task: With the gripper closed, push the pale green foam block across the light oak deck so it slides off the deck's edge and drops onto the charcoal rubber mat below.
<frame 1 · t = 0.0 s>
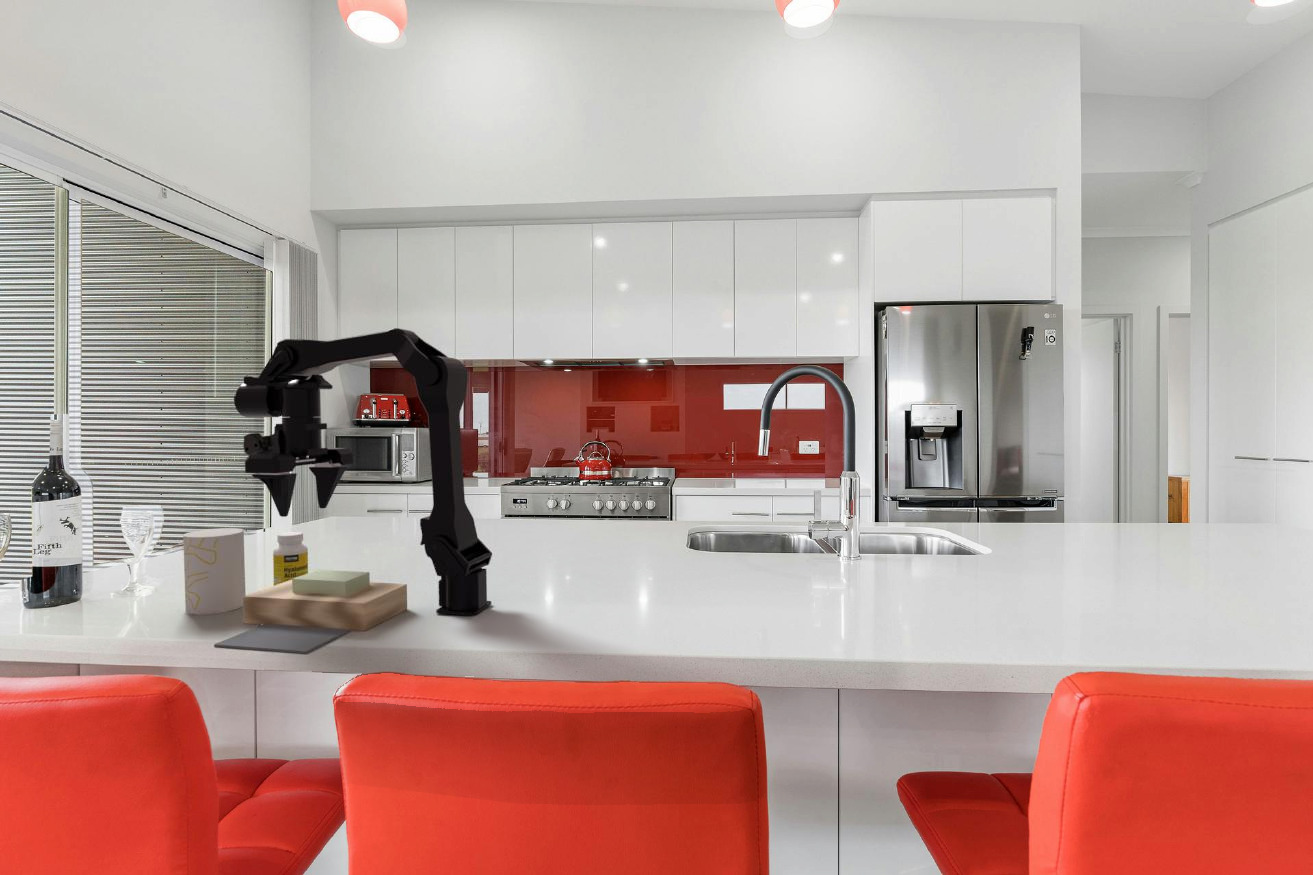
hand: (304, 512, 114), 15 cm above the table, fingers open, 9 cm apart
deck: (328, 615, 106), on the table
pale green foam block: (331, 588, 107), point 4 cm above the table, touching deck
mat: (284, 638, 96), on the table
cup: (216, 607, 111), on the table
supplement bottle: (291, 589, 122), on the table
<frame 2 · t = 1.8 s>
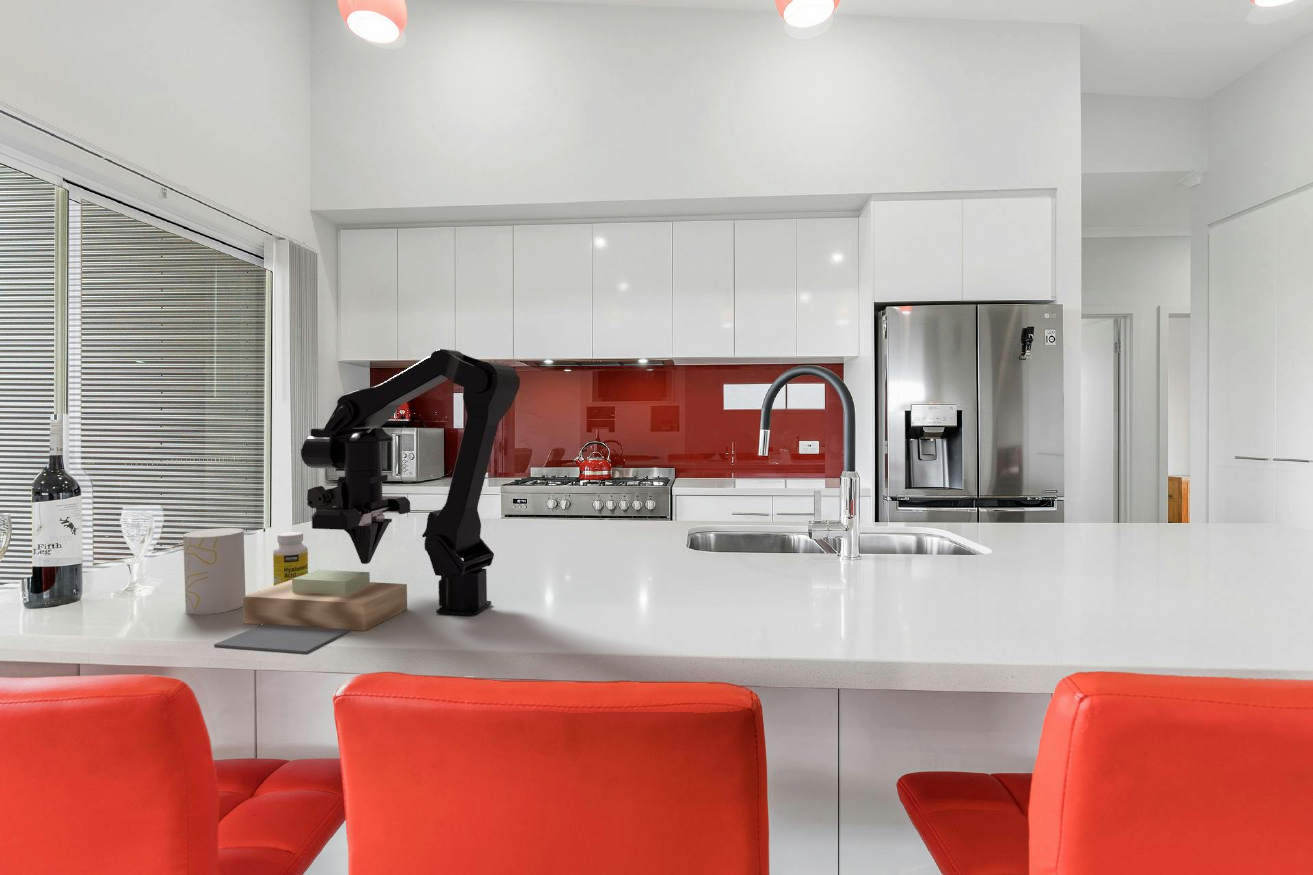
hand: (365, 563, 115), 6 cm above the table, fingers closed
nothing on the table moved.
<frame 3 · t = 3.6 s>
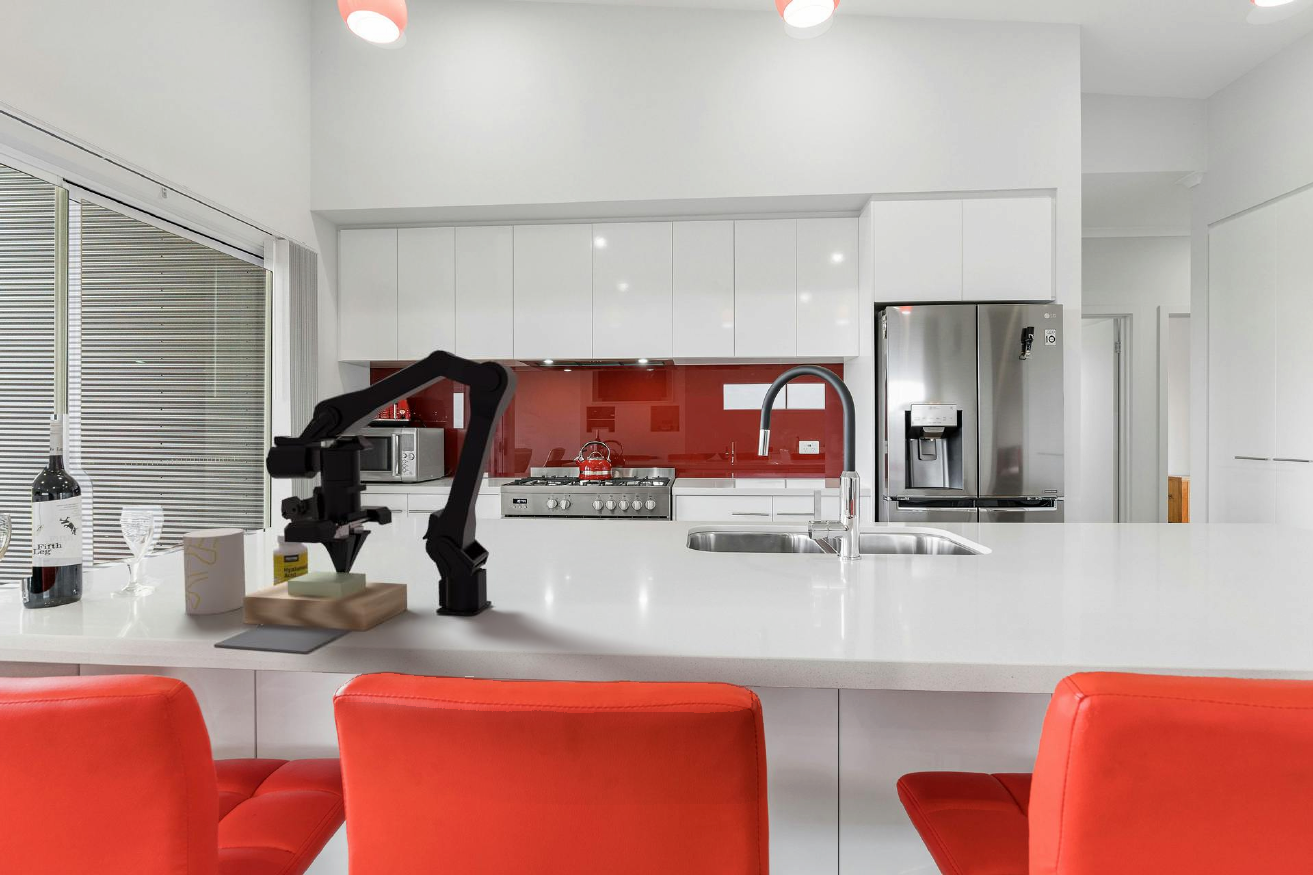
hand: (343, 577, 110), 5 cm above the table, fingers closed
pale green foam block: (327, 589, 106), point 4 cm above the table, touching deck, gripper
everything else where it was.
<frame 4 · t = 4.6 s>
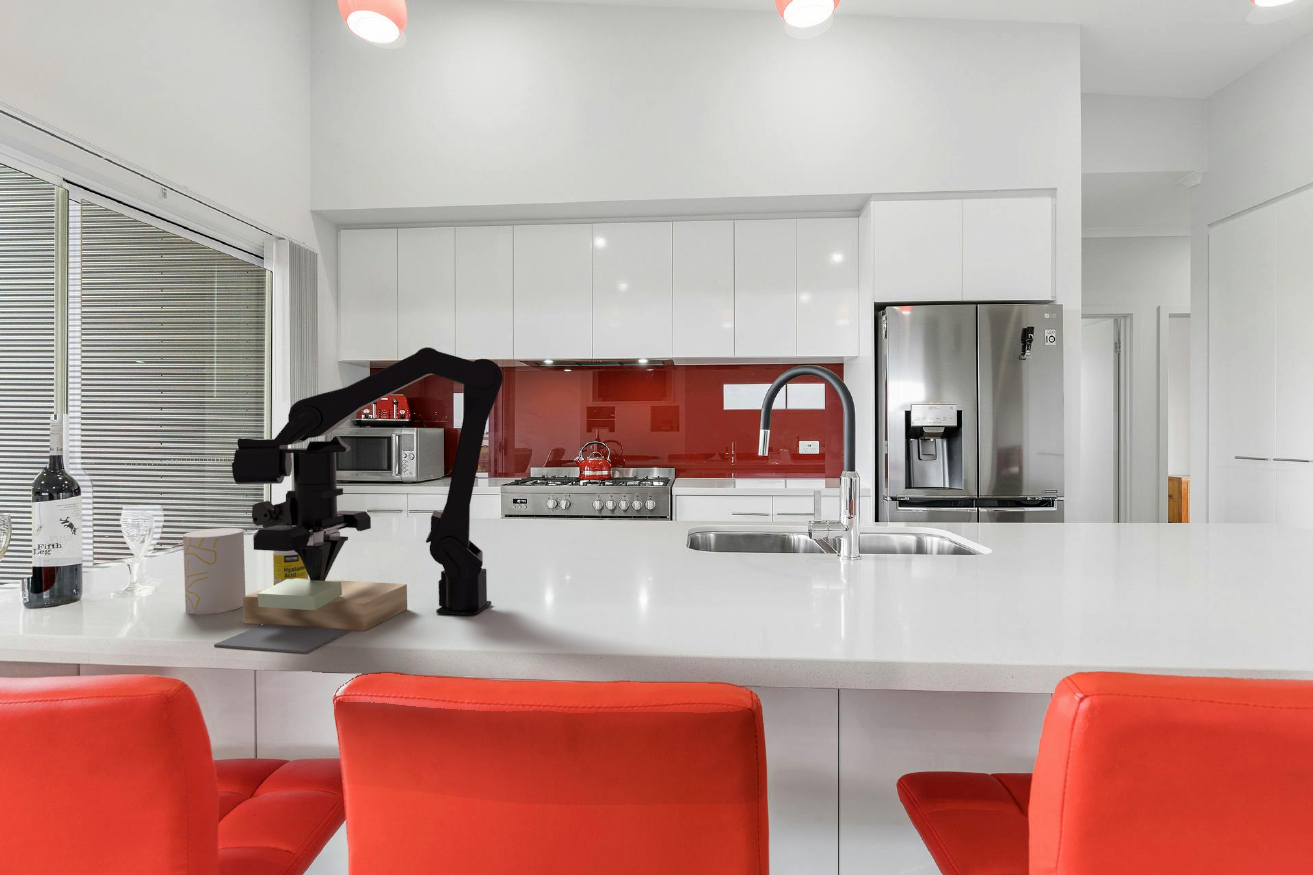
hand: (317, 586, 104), 5 cm above the table, fingers closed
pale green foam block: (301, 600, 100), point 4 cm above the table, tilted 5°, touching deck
everything else where it was.
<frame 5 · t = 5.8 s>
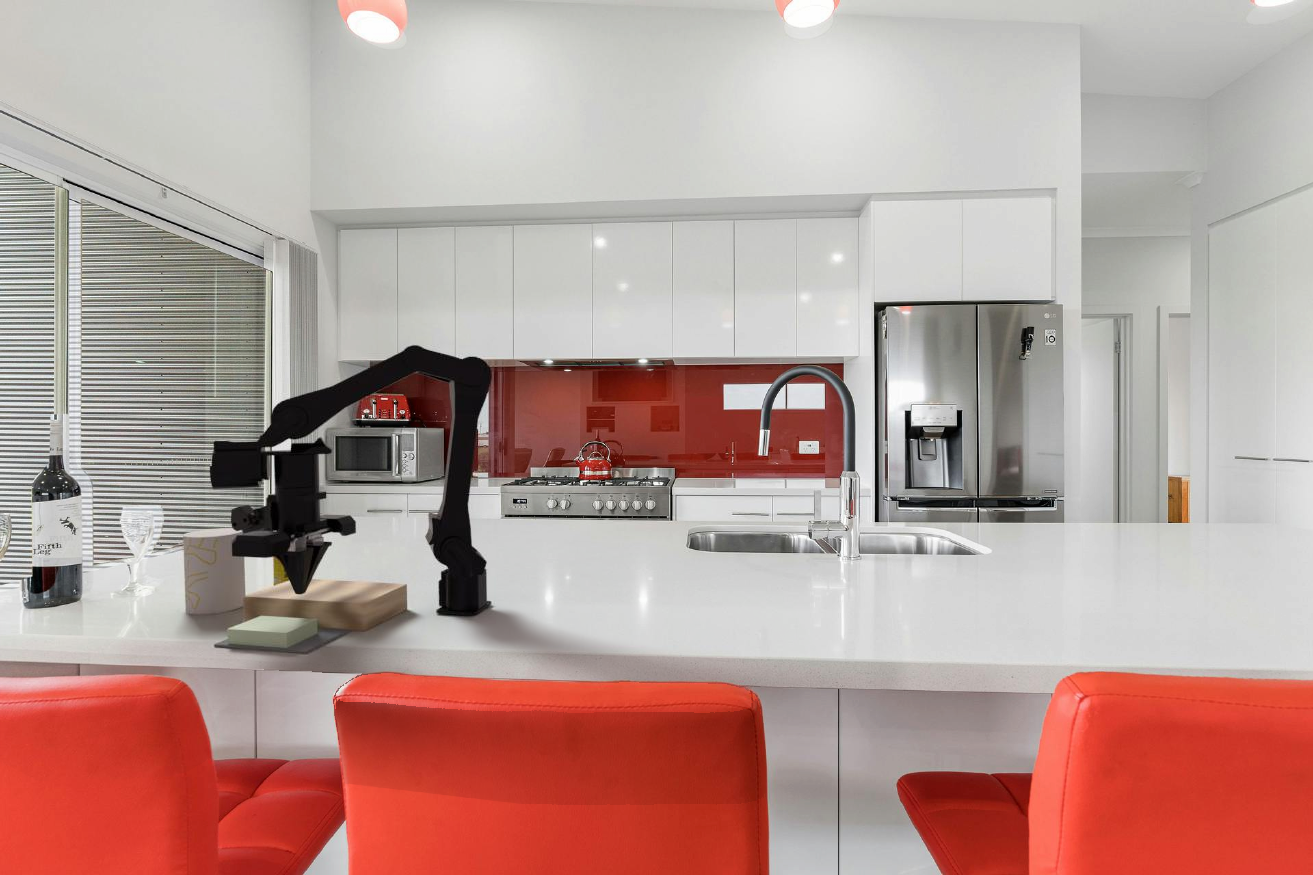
hand: (300, 593, 100), 5 cm above the table, fingers closed
pale green foam block: (273, 623, 95), point 2 cm above the table, tilted 180°, touching mat
everything else where it was.
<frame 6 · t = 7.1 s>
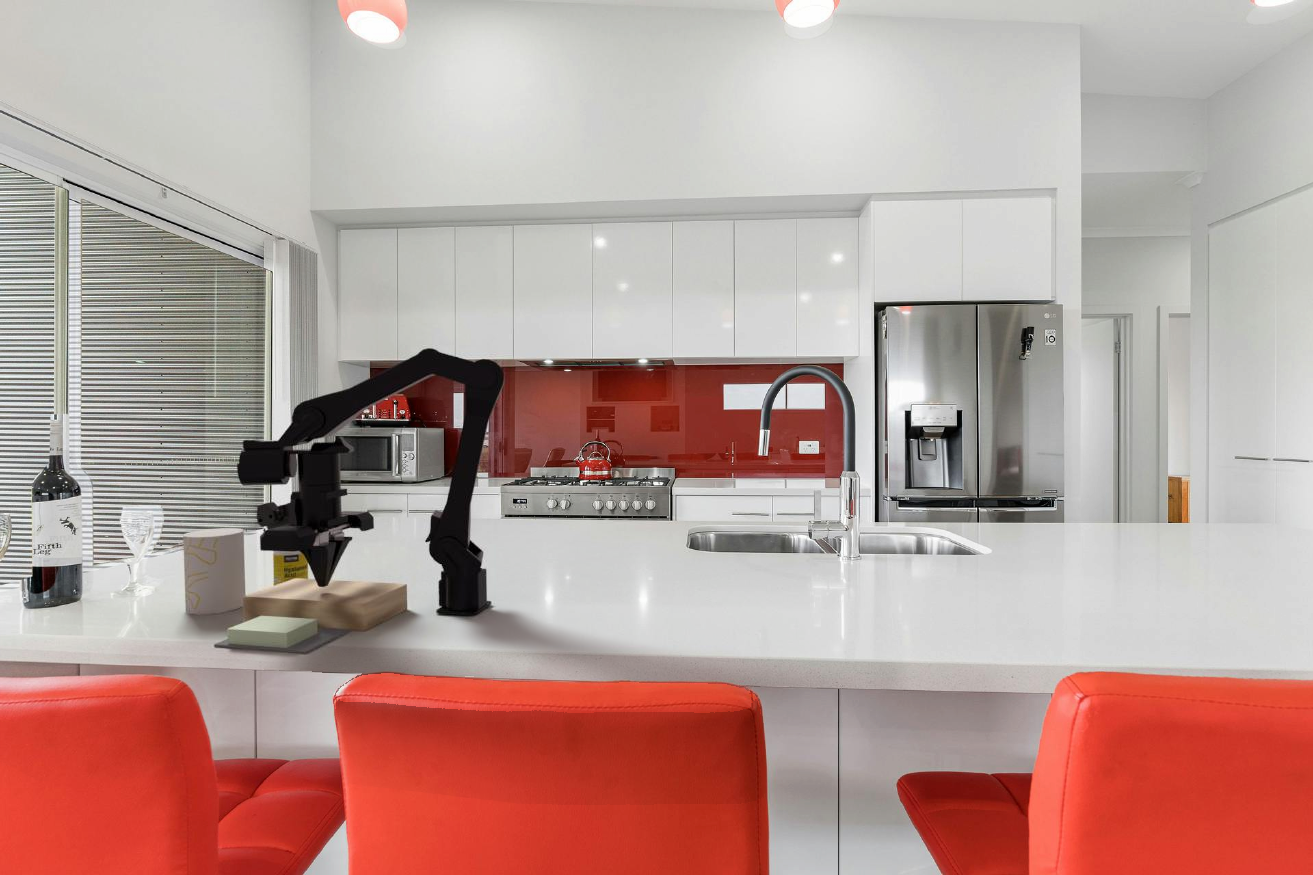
hand: (323, 586, 105), 5 cm above the table, fingers closed
nothing on the table moved.
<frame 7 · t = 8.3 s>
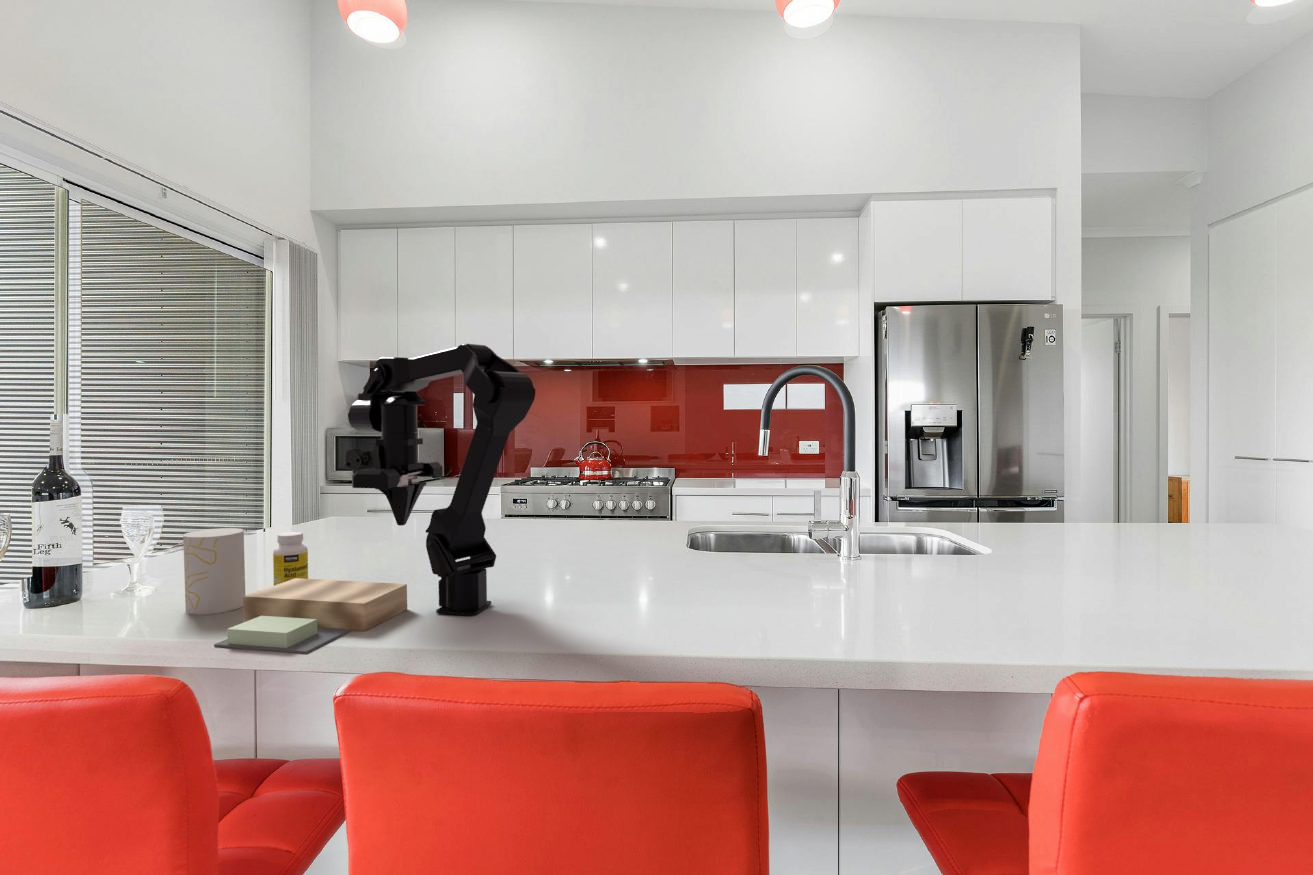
hand: (401, 525, 117), 12 cm above the table, fingers closed
nothing on the table moved.
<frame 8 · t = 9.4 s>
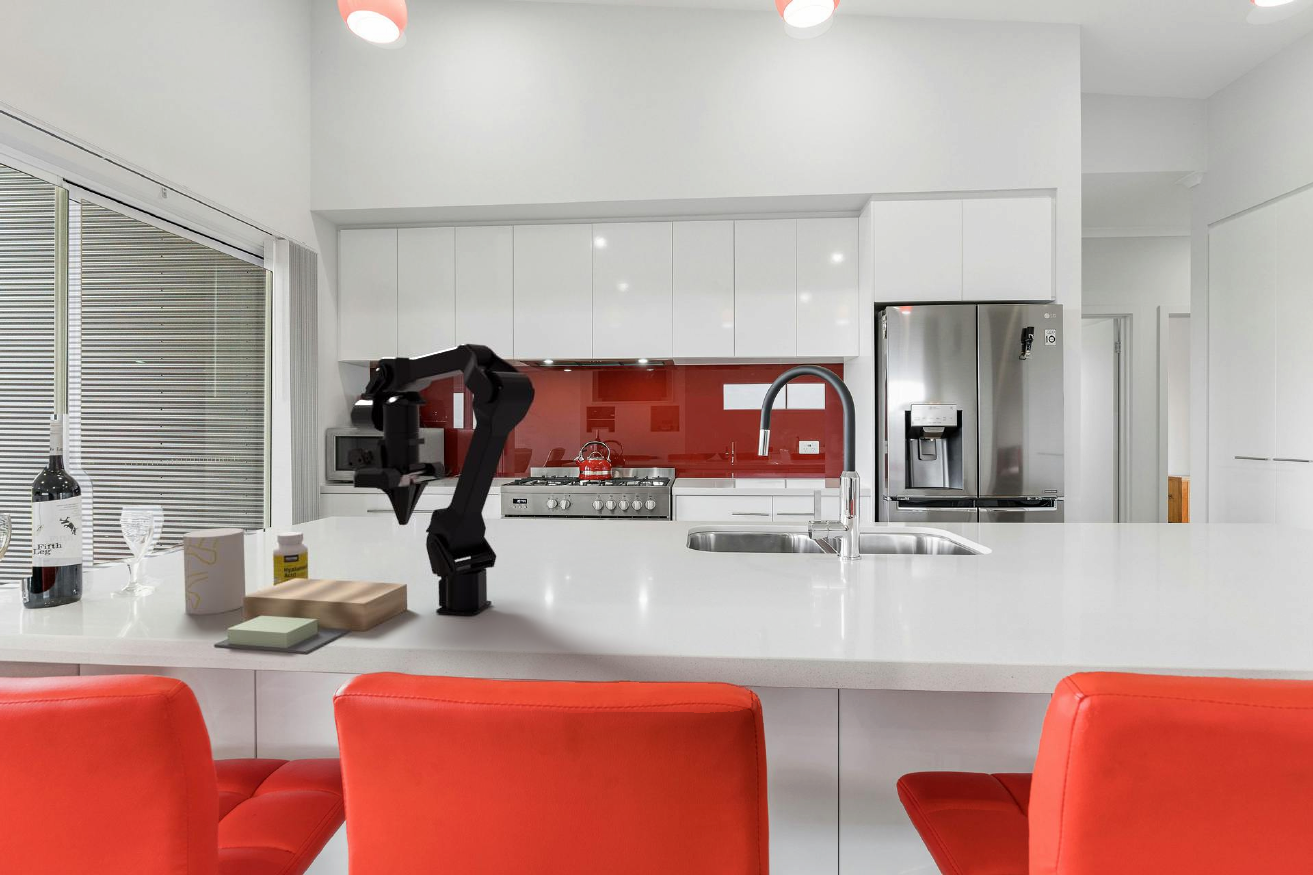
hand: (403, 524, 117), 12 cm above the table, fingers closed
nothing on the table moved.
at the end: pale green foam block point 2.3 cm above the table; pale green foam block inside the target area on the mat (1.3 cm from its centre), point 2.3 cm above the mat's base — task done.
